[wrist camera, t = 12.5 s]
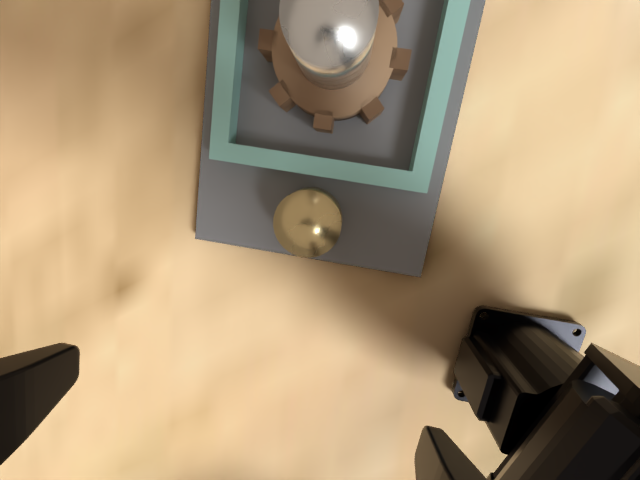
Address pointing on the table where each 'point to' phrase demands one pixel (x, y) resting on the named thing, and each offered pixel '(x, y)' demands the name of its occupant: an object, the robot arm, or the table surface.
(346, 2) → the planet gear
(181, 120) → the table surface
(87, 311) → the table surface
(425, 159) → the carrier plate
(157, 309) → the table surface
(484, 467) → the table surface
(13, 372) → the robot arm
